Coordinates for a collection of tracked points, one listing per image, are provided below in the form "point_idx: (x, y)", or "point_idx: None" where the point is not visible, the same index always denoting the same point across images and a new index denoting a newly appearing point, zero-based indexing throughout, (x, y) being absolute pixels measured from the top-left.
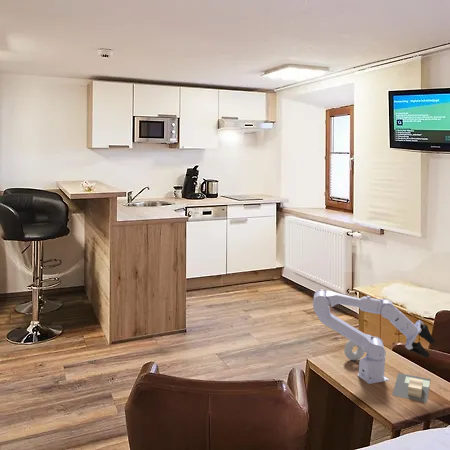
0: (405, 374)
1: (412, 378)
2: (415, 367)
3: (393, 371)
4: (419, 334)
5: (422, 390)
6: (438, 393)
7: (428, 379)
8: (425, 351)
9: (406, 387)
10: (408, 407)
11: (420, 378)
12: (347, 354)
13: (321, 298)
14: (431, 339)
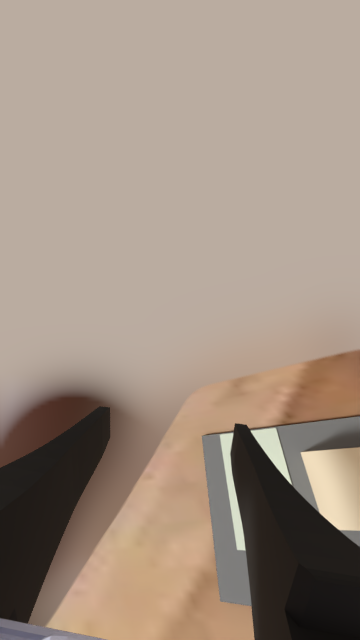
0: (216, 554)
1: (328, 514)
2: (132, 508)
3: (209, 635)
4: (43, 570)
5: (322, 448)
6: (287, 389)
7: (207, 442)
8: (258, 454)
9: (358, 536)
10: None
11: (216, 474)
12: None
13: None
14: (95, 430)
